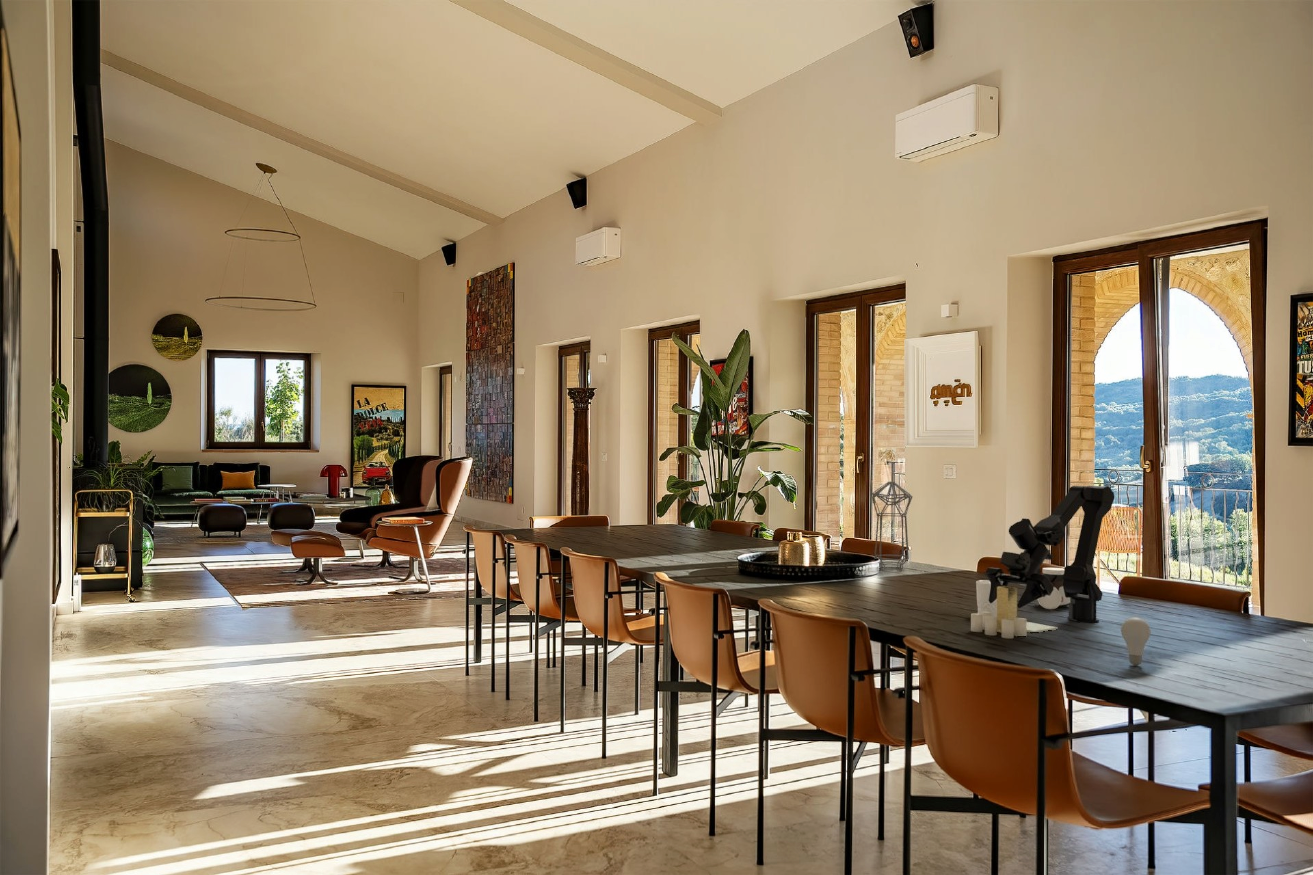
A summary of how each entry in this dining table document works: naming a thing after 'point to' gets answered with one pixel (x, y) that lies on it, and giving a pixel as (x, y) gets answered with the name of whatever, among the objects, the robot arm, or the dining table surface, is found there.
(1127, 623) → the lightbulb
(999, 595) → the brass post
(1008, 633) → the spacers
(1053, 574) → the spread jar
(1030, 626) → the mat
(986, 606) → the white cup
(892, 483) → the geometric lantern
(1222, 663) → the dining table surface
